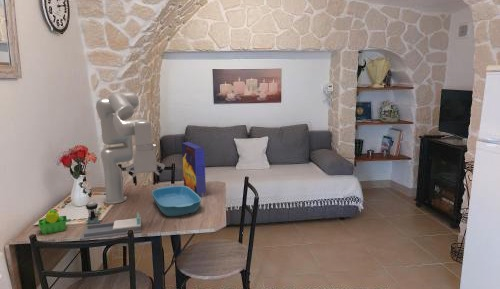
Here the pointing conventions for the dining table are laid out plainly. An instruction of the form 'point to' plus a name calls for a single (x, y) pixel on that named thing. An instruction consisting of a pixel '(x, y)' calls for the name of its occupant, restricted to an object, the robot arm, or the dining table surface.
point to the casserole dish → (176, 200)
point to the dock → (104, 231)
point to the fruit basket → (52, 222)
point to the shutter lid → (127, 223)
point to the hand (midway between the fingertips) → (146, 183)
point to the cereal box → (194, 167)
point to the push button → (92, 213)
